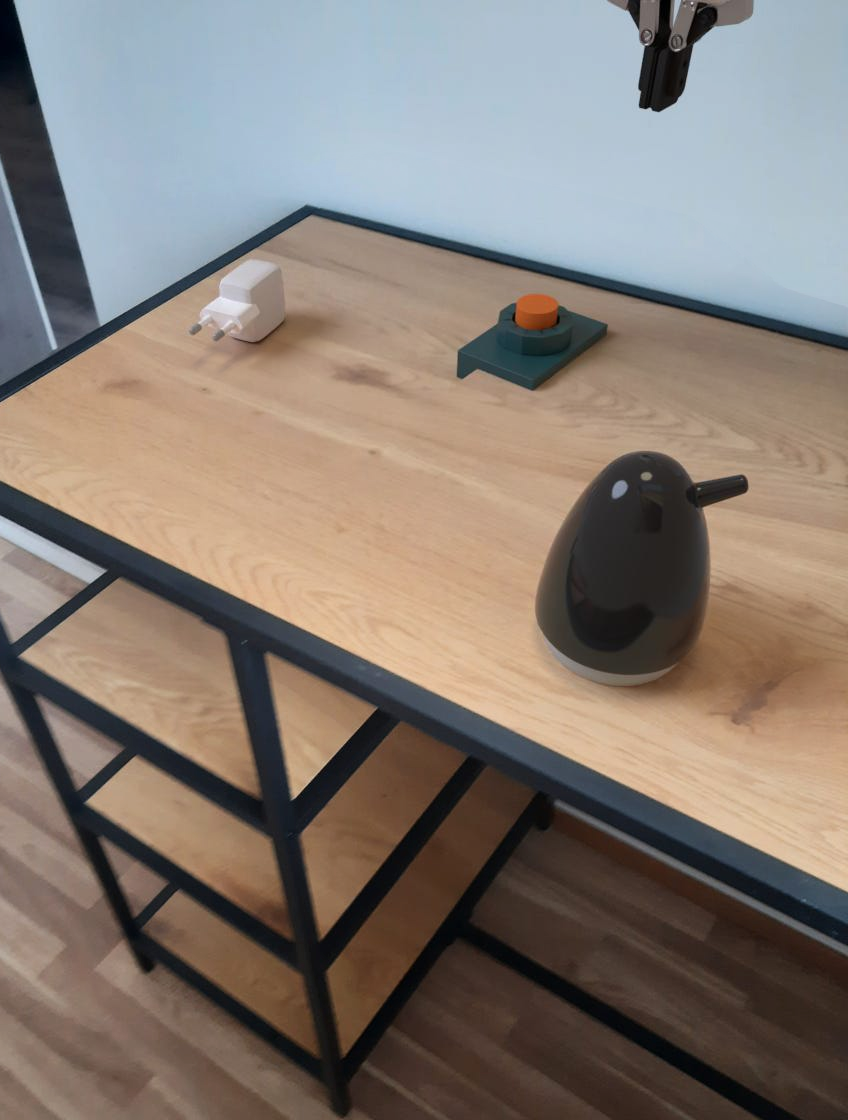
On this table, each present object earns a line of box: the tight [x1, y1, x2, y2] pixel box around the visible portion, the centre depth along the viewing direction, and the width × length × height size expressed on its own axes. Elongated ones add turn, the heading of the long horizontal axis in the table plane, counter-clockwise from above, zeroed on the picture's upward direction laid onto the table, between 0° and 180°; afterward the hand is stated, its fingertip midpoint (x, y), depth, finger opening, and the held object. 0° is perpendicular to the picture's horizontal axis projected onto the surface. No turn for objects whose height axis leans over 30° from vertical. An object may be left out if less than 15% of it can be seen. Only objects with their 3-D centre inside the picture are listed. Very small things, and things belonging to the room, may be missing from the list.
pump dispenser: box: [534, 450, 750, 687], centre depth 55 cm, size 10×10×15 cm
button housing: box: [456, 302, 609, 392], centre depth 84 cm, size 12×8×4 cm, turn 139°
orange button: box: [515, 293, 560, 331], centre depth 82 cm, size 4×4×2 cm
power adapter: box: [188, 258, 287, 343], centre depth 88 cm, size 11×5×6 cm, turn 151°
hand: (658, 104), depth 70 cm, fingers closed
